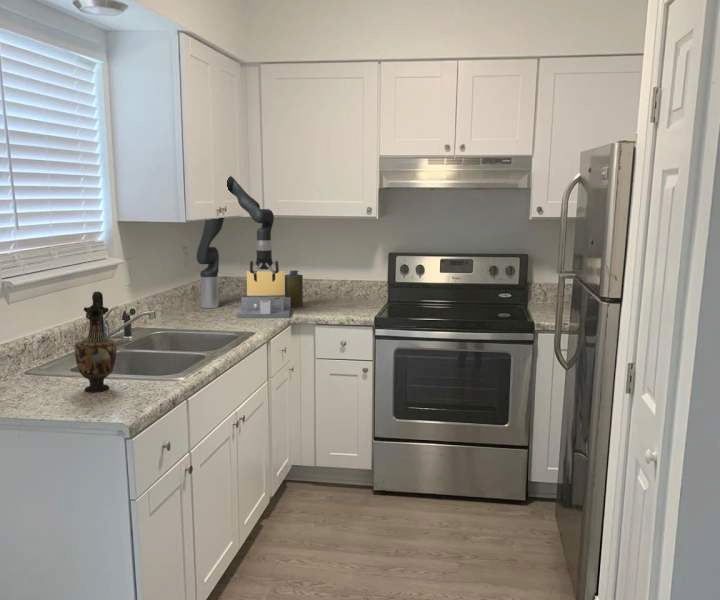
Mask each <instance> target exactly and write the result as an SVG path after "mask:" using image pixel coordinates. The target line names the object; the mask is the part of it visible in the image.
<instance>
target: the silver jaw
mask: <svg viewBox="0 0 720 600" xmlns="http://www.w3.org/2000/svg"><path fill="white" fill-rule="evenodd" d="M270 313H271V301H260V314H270Z"/></svg>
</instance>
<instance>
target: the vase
mask: <svg viewBox="0 0 720 600" xmlns="http://www.w3.org/2000/svg"><path fill="white" fill-rule="evenodd" d="M91 298H92V305H90V306H88V307H87V306H85V307H84V308H83V311H84V312H85V318H86V319H87V320H89V328H88V334H87V337H86V338H85V339H82V340H80V341H78V342H77V343H76V344H75V348H74V355H75V363H76V366H77V370H78V371H79V373H80V375H82V377H84V378H85V379H86V380H87V381H89V385H88V386H86V387H84V392H86V393H102V392H106V391H108V390H109V389H110V385H108V384H105V383H104V381H105V379H106V378H107V377H109V376H110V375H111V373H112V371H113V370H114V367H115V365H116V360H117V352H118V351H117V343H116V342H115V341H114V340H112V339H111V338H107V337H106V334H105V330H104V329H105V327H104V324H105V323H104V315H106V313H108V312H109V308H108V307H104V295H103V293H102V292H101V291H94V292H93V293H92V297H91Z"/></svg>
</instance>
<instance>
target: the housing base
mask: <svg viewBox="0 0 720 600" xmlns="http://www.w3.org/2000/svg"><path fill="white" fill-rule="evenodd" d="M272 298H281V310H276V311H272V303H271V313H270V314H260V301H271V299H272ZM240 300H241V307H240V310H239V311H238V312H237V314H236V318H237V319H289V318H290V315H291V308H292V307H291V297H285V296H245V297H244V296H241V298H240Z"/></svg>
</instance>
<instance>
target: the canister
mask: <svg viewBox="0 0 720 600" xmlns="http://www.w3.org/2000/svg"><path fill="white" fill-rule="evenodd" d="M298 272H299V270H289V272H288V273H289V274H285V296H284V297H291V308H300V307H303V306H304V303H303V302H304V301H303V300H304V299H303V297H304V294H303V293H304V289H303V288H304V287H303V276H304V275H303V274H298Z"/></svg>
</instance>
